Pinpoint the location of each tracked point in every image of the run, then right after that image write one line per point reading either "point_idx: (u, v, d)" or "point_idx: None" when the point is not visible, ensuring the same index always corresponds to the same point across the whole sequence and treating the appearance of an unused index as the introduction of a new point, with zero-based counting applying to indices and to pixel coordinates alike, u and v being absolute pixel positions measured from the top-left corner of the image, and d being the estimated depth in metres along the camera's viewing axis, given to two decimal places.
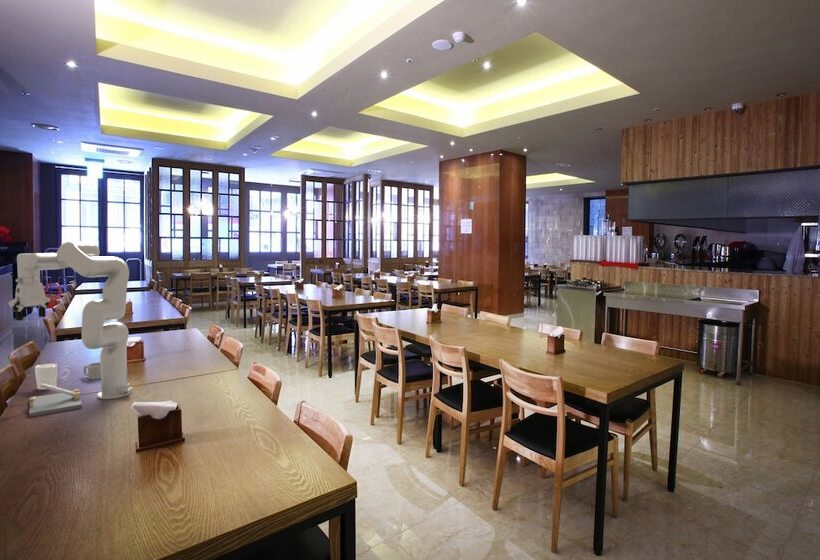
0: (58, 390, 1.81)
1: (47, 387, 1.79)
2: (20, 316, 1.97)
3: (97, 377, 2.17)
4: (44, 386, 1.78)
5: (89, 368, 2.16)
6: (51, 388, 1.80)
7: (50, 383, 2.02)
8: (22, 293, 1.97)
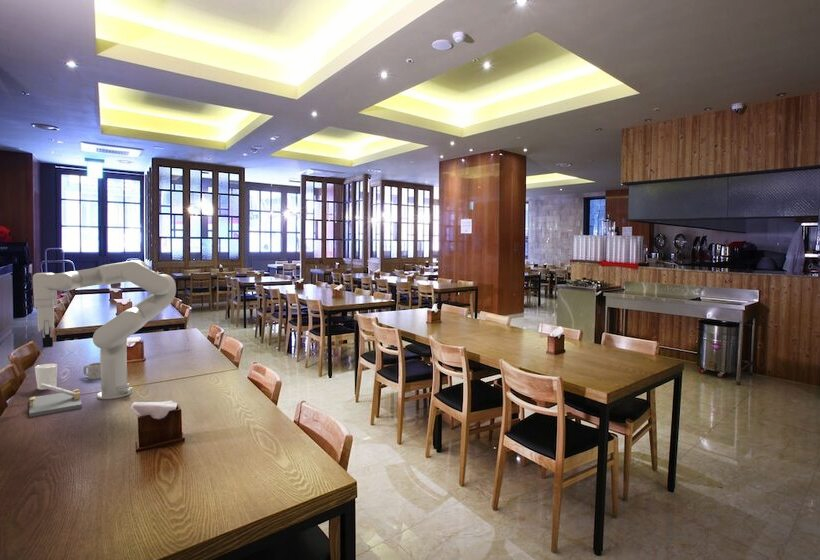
0: (58, 390, 1.81)
1: (47, 387, 1.79)
2: None
3: (97, 377, 2.17)
4: (44, 386, 1.78)
5: (89, 368, 2.16)
6: (51, 388, 1.80)
7: (50, 383, 2.02)
8: None
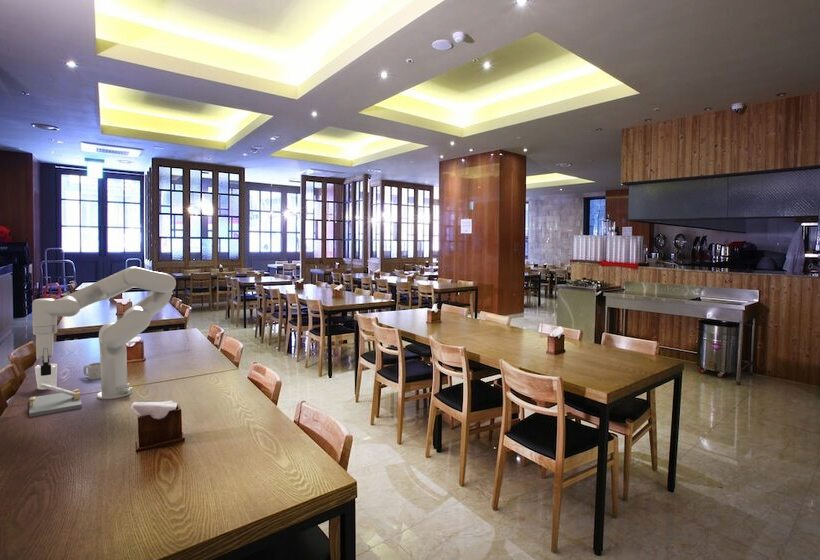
0: (58, 390, 1.81)
1: (47, 387, 1.79)
2: None
3: (97, 377, 2.17)
4: (44, 386, 1.78)
5: (89, 368, 2.16)
6: (51, 388, 1.80)
7: (50, 383, 2.02)
8: None
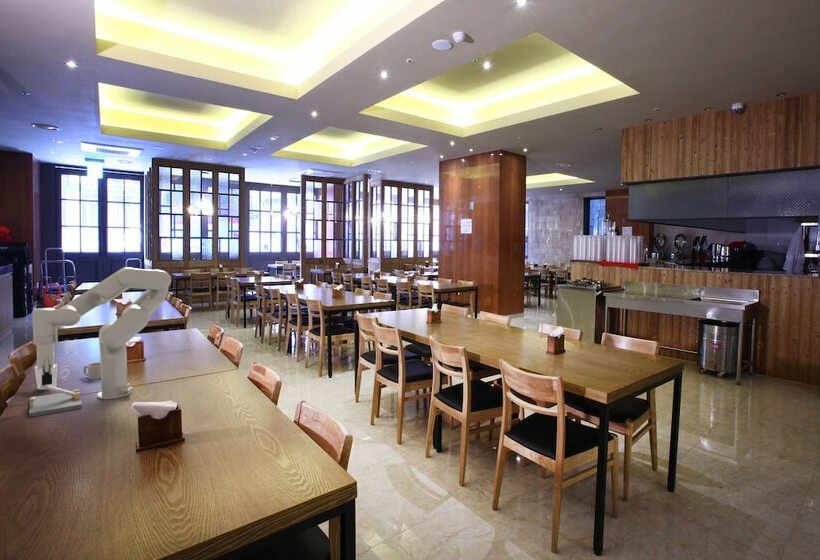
0: (58, 390, 1.81)
1: (47, 387, 1.79)
2: None
3: (97, 377, 2.17)
4: (44, 387, 1.78)
5: (89, 368, 2.16)
6: (51, 388, 1.80)
7: None
8: None
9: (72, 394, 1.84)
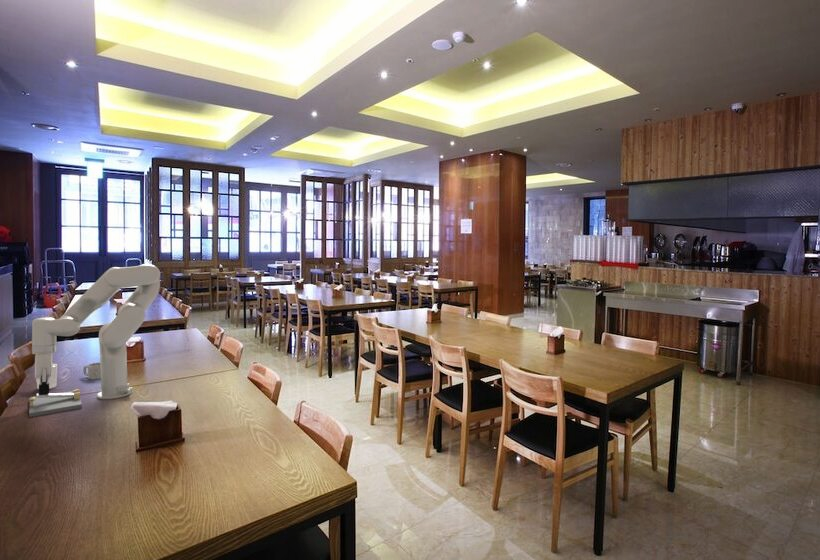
0: (56, 396, 1.81)
1: (43, 396, 1.78)
2: None
3: (97, 377, 2.17)
4: (40, 396, 1.78)
5: (89, 368, 2.16)
6: (48, 396, 1.79)
7: (50, 383, 2.02)
8: None
9: (71, 395, 1.84)
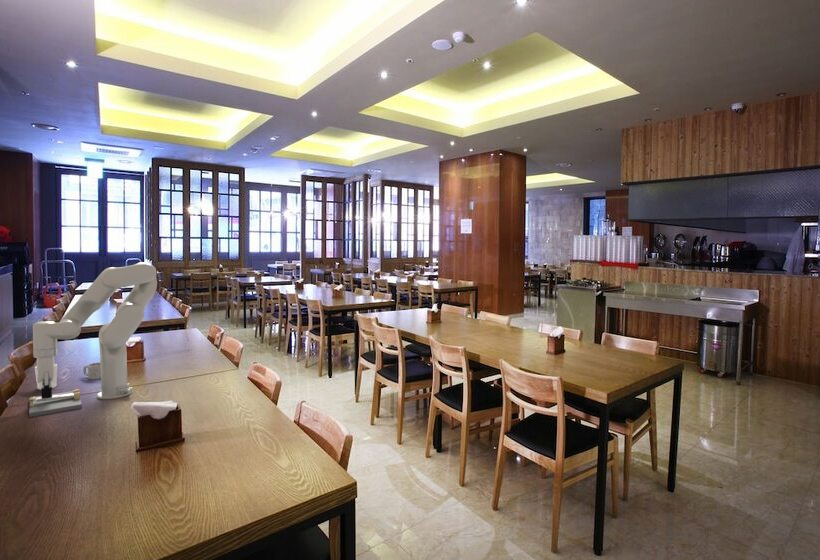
0: (55, 398, 1.81)
1: (43, 399, 1.78)
2: None
3: (97, 377, 2.17)
4: (39, 400, 1.78)
5: (89, 368, 2.16)
6: (47, 399, 1.79)
7: None
8: None
9: (71, 396, 1.84)
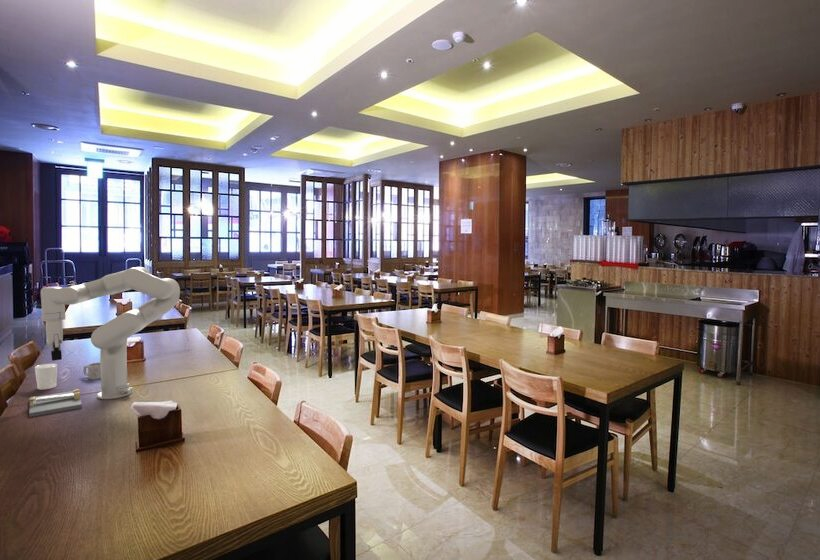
0: (55, 398, 1.81)
1: (43, 399, 1.78)
2: None
3: (97, 377, 2.17)
4: (39, 400, 1.78)
5: (89, 368, 2.16)
6: (47, 399, 1.79)
7: (50, 383, 2.02)
8: None
9: (71, 396, 1.84)
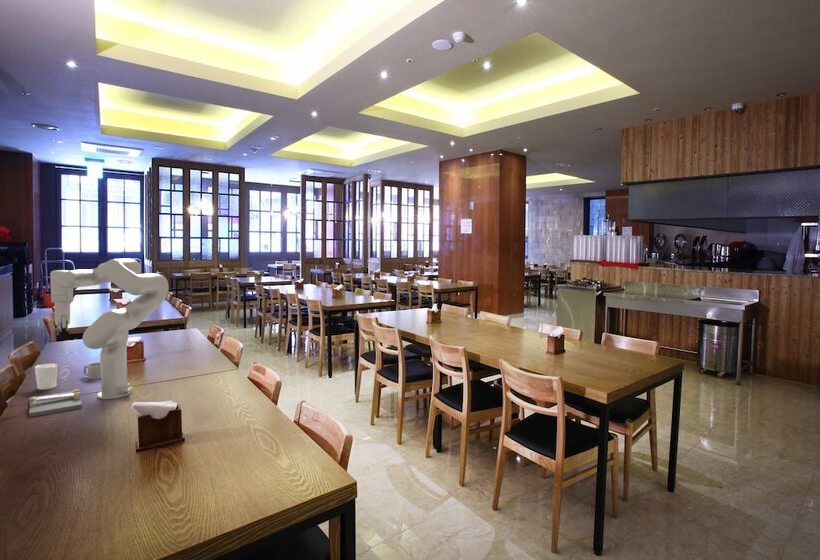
0: (55, 398, 1.81)
1: (43, 399, 1.78)
2: None
3: (97, 377, 2.17)
4: (39, 400, 1.78)
5: (89, 368, 2.16)
6: (47, 399, 1.79)
7: (50, 383, 2.01)
8: None
9: (71, 396, 1.84)
